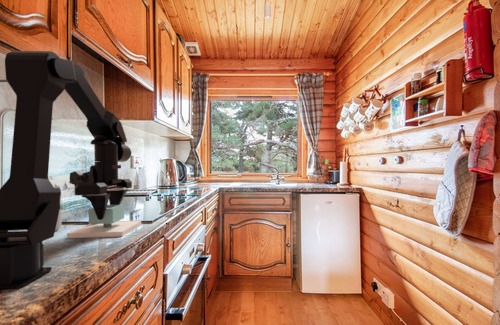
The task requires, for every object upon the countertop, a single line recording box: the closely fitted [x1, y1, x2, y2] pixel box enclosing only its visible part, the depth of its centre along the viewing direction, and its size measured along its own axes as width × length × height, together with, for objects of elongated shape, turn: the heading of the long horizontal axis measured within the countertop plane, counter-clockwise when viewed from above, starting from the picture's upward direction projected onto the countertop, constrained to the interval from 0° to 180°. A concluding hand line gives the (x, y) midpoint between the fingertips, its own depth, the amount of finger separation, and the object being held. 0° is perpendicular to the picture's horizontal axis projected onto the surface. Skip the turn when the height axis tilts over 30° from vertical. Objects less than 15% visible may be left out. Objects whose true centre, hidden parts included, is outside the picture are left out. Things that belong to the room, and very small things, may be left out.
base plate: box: [66, 220, 142, 239], centre depth 69 cm, size 12×14×5 cm
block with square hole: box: [87, 204, 125, 225], centre depth 69 cm, size 6×6×4 cm
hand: (107, 216), depth 69 cm, fingers closed on block with square hole, 6 cm apart
